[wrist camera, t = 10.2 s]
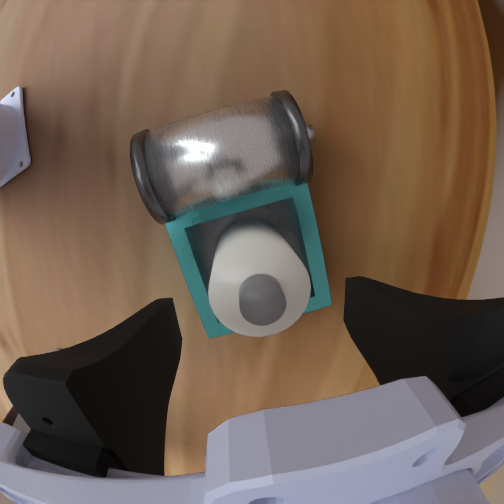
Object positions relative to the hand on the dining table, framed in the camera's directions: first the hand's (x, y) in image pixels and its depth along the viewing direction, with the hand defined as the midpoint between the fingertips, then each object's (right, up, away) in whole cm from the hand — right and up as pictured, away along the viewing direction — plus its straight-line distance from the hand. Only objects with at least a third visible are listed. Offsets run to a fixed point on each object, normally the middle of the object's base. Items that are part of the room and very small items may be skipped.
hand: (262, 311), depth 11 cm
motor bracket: (-1, +5, +8) cm, 9 cm away
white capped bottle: (0, +2, +7) cm, 8 cm away
